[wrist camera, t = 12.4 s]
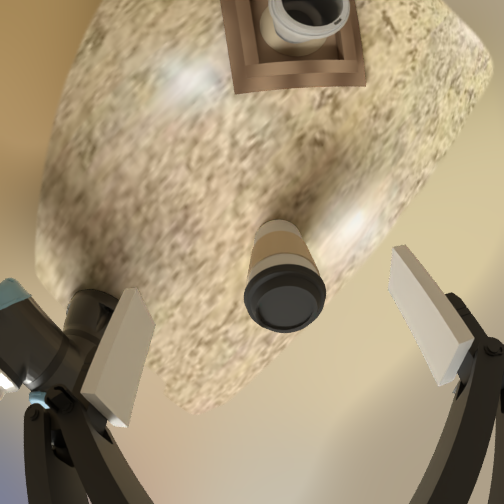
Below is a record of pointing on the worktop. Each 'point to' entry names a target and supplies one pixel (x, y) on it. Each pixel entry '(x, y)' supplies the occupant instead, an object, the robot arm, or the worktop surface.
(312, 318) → the coffee cup
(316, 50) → the holder
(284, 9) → the cup
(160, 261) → the worktop surface
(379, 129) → the worktop surface
